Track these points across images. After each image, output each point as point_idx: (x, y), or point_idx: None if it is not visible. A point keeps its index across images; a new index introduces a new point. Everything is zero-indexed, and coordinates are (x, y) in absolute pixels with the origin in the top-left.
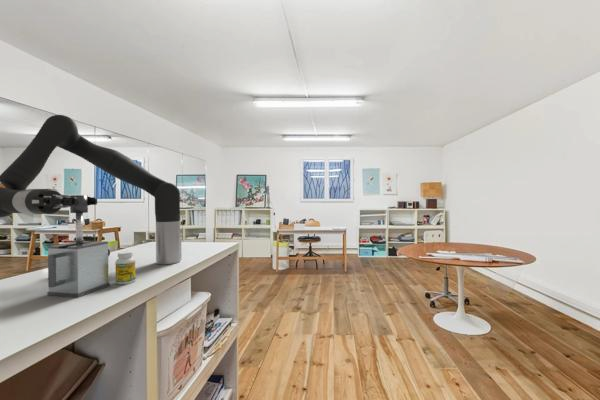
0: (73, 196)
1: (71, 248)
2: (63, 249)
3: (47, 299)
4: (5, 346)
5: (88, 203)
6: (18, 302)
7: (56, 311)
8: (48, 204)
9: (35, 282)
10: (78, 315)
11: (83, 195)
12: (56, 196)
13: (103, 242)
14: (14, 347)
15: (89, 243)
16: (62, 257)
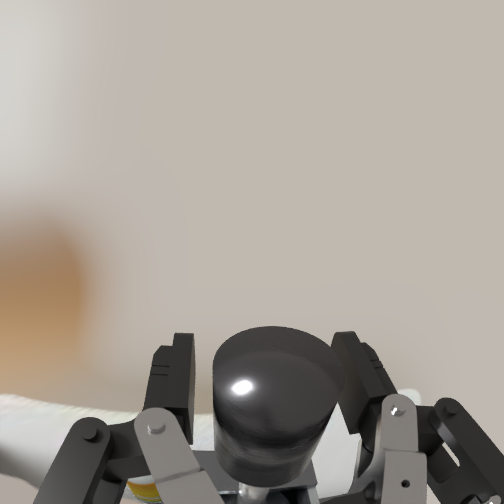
0: (335, 361)
1: (312, 469)
2: (318, 499)
3: None
4: (420, 403)
5: (192, 408)
6: None
7: (348, 463)
8: (442, 447)
9: None
10: (341, 417)
11: (282, 327)
12: (418, 453)
13: (197, 451)
14: (415, 394)
15: (232, 478)
16: None
